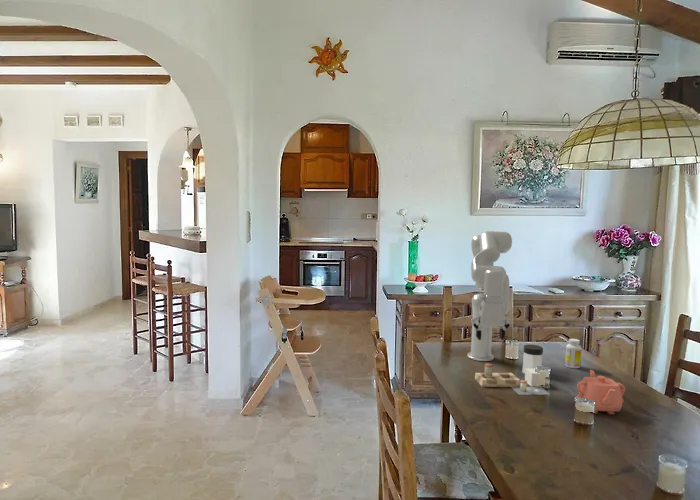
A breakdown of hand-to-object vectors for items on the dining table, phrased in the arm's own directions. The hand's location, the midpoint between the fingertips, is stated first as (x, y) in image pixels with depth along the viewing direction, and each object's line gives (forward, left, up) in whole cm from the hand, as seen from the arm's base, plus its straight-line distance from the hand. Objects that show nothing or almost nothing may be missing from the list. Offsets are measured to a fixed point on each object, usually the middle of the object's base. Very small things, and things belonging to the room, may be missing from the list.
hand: (490, 338), depth 213 cm
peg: (+1, 0, -19) cm, 19 cm away
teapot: (+28, +33, -19) cm, 47 cm away
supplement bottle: (-21, +49, -19) cm, 56 cm away
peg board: (+1, +4, -19) cm, 19 cm away
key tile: (+10, +14, -19) cm, 26 cm away
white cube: (+2, +20, -19) cm, 27 cm away
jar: (-12, +25, -19) cm, 33 cm away
